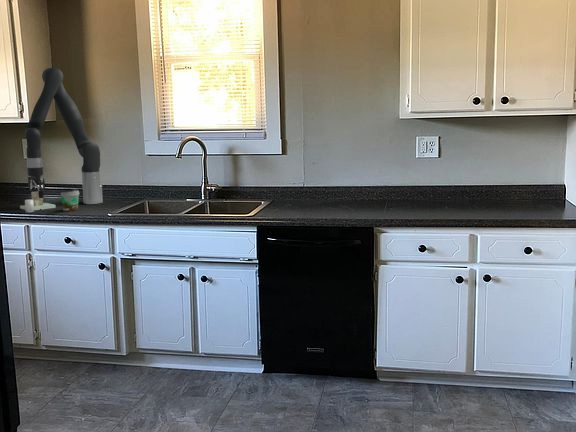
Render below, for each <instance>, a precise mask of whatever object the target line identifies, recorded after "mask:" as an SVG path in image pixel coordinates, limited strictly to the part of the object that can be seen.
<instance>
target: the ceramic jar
mask: <svg viewBox="0 0 576 432" xmlns="http://www.w3.org/2000/svg"><path fill="white" fill-rule="evenodd" d="M24 205H25V210H24V211H25V213H34V212H35V210H34V203H33V200H32V198H31V199H24Z"/></svg>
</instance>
